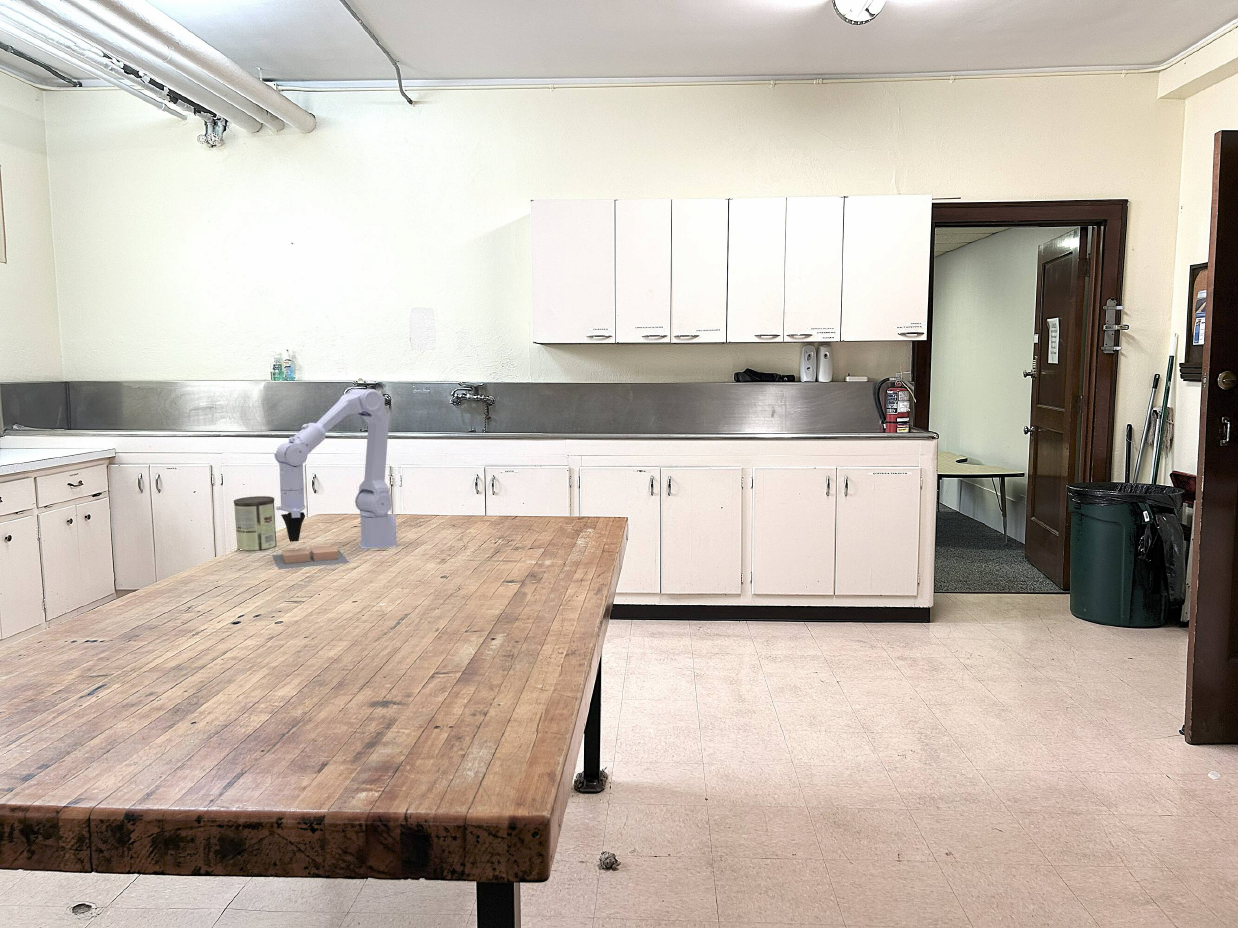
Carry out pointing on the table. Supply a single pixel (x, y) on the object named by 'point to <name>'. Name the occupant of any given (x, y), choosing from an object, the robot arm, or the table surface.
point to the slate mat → (283, 565)
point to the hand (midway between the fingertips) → (294, 541)
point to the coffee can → (255, 524)
